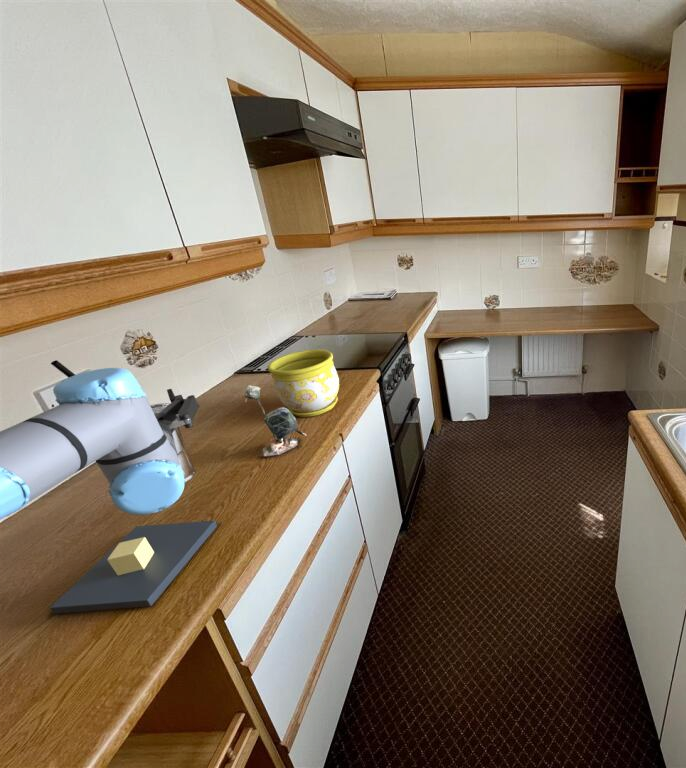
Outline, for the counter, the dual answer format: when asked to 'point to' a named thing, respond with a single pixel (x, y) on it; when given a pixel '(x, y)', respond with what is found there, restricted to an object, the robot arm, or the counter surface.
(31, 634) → the counter surface
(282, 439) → the decorative sculpture
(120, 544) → the pale yellow cube
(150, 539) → the tray
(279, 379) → the flowerpot
